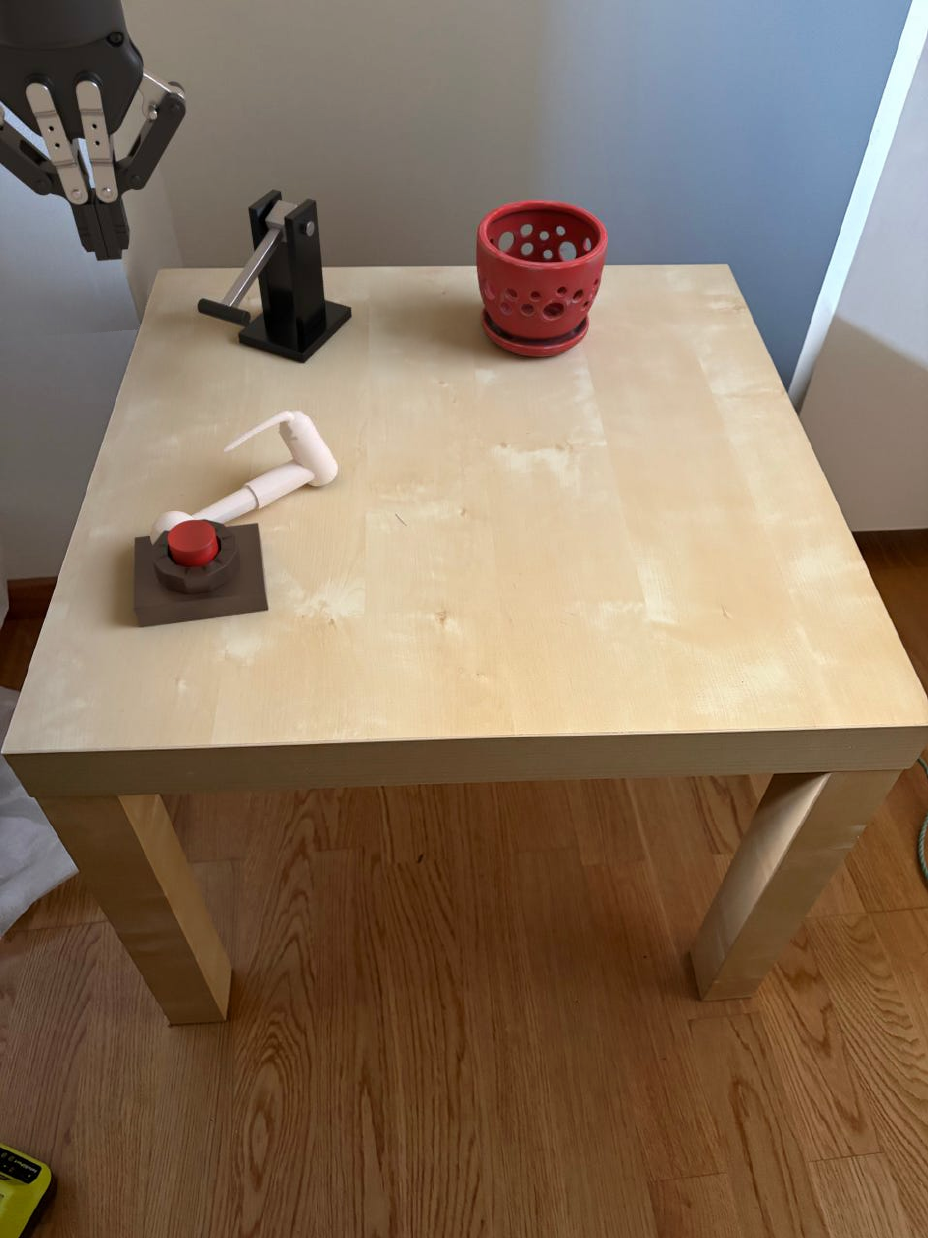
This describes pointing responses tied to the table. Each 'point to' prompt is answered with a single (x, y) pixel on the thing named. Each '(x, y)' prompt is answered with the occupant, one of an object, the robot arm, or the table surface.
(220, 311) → the lever
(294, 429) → the faucet
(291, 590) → the table surface
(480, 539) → the table surface
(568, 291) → the flower pot
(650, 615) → the table surface
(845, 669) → the table surface
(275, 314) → the bracket
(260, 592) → the button block
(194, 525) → the button
